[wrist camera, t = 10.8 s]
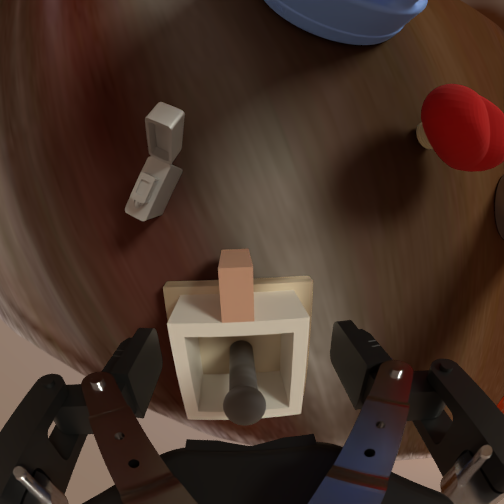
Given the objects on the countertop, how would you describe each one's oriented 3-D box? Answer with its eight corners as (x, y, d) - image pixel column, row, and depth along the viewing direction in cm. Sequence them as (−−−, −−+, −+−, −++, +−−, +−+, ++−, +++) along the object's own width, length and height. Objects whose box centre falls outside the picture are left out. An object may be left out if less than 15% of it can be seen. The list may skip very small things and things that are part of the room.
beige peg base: (308, 275, 23) (354, 330, 13) (301, 384, 26) (326, 456, 16) (167, 281, 22) (126, 341, 13) (185, 389, 25) (171, 464, 15)
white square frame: (294, 246, 21) (312, 264, 16) (290, 377, 24) (300, 413, 19) (176, 251, 20) (159, 270, 15) (194, 382, 23) (187, 419, 18)
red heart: (450, 117, 20) (517, 103, 11) (451, 179, 22) (524, 183, 12) (381, 91, 20) (449, 55, 10) (383, 162, 21) (461, 153, 11)
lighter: (161, 216, 21) (123, 231, 13) (143, 207, 21) (98, 217, 13) (201, 137, 20) (183, 108, 12) (182, 128, 20) (155, 97, 12)
